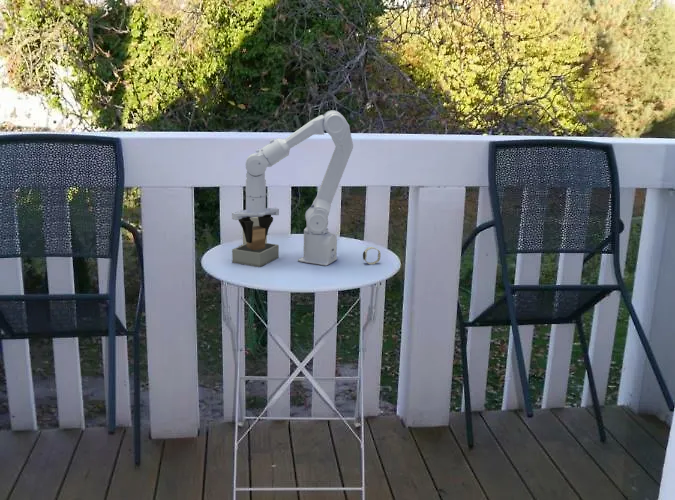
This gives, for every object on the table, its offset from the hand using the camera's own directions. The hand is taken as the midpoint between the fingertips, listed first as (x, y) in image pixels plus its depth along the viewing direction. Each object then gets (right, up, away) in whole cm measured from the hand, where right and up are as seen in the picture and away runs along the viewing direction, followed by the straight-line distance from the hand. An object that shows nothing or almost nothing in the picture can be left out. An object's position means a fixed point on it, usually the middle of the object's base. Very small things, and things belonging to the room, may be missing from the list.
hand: (255, 241), depth 214 cm
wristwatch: (+34, -7, +2) cm, 35 cm away
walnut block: (0, -2, 0) cm, 2 cm away
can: (-2, -2, +15) cm, 16 cm away
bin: (0, -6, +2) cm, 6 cm away
